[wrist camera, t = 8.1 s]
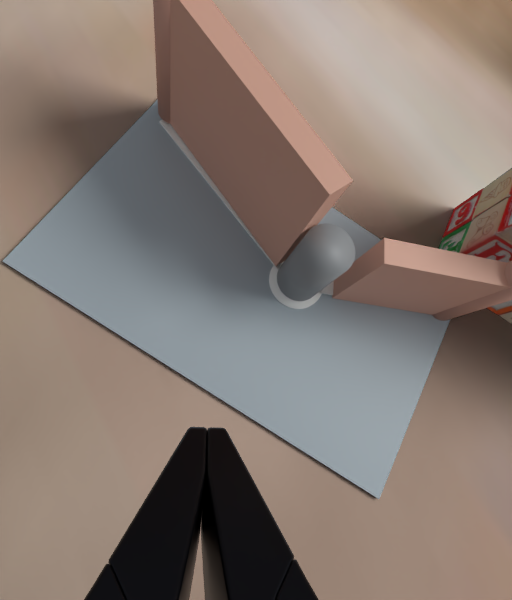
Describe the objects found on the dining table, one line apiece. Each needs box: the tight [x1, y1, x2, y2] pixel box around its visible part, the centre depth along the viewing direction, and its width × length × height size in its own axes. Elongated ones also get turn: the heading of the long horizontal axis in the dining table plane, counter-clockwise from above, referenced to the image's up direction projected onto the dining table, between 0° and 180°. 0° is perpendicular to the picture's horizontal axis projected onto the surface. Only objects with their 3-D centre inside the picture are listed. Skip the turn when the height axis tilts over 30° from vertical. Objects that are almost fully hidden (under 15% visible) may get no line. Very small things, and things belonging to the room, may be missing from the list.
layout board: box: [3, 99, 450, 499], centre depth 24 cm, size 15×25×1 cm, turn 59°
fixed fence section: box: [332, 238, 512, 321], centre depth 22 cm, size 9×2×7 cm, turn 84°
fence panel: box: [153, 0, 355, 301], centre depth 20 cm, size 16×3×9 cm, turn 37°
